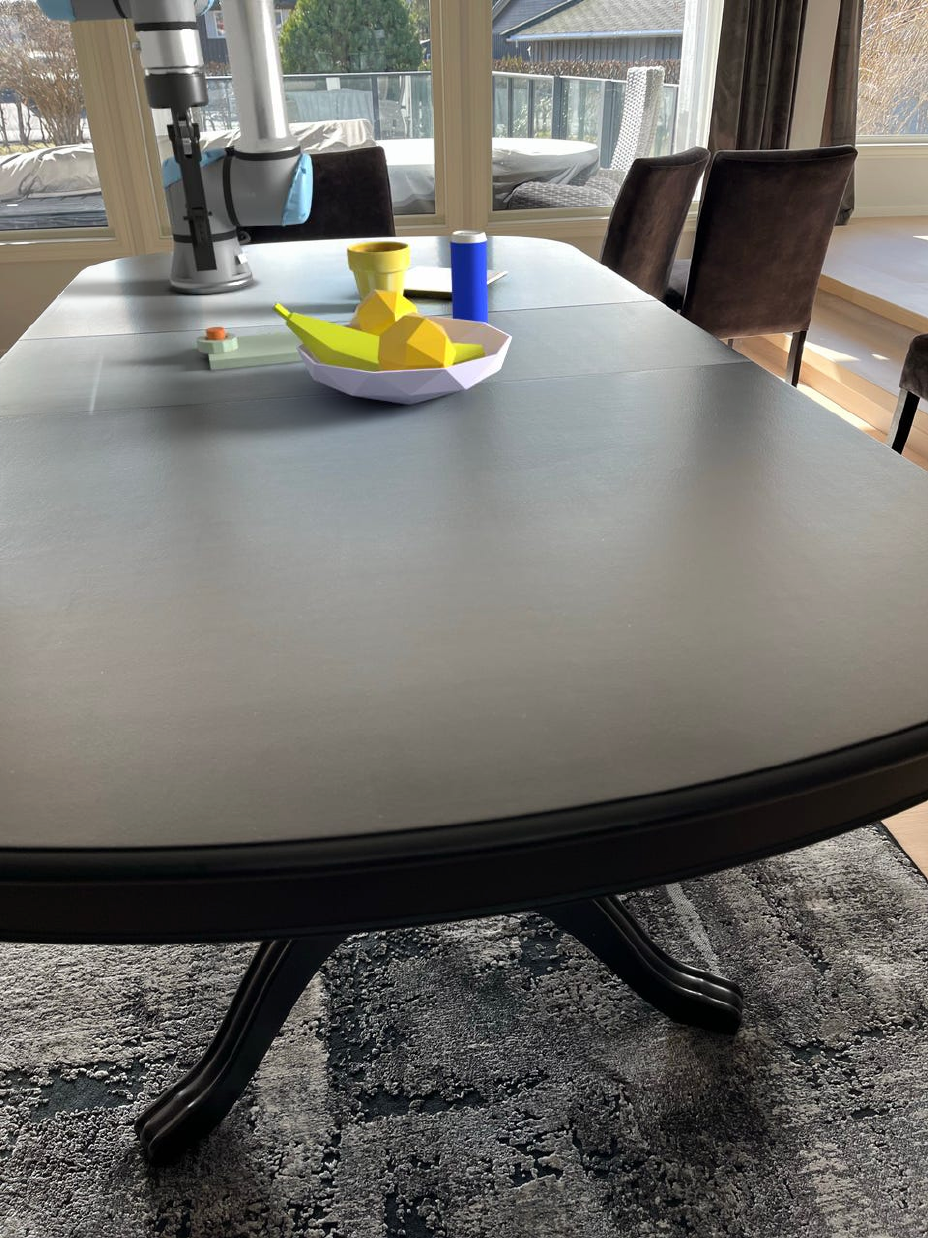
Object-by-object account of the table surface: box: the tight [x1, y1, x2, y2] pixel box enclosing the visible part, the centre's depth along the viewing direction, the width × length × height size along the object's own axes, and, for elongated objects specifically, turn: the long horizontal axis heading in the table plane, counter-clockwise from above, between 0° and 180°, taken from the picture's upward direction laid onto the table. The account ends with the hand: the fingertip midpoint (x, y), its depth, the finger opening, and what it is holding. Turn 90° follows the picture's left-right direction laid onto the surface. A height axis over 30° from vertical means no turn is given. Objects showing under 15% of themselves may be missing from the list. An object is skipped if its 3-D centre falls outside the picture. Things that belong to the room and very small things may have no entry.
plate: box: [403, 266, 509, 300], centre depth 171 cm, size 19×19×2 cm
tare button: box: [205, 326, 226, 340], centre depth 134 cm, size 3×3×2 cm
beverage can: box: [449, 229, 489, 324], centre depth 136 cm, size 5×5×15 cm
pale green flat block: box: [196, 330, 304, 371], centre depth 136 cm, size 12×17×3 cm
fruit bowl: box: [272, 289, 513, 406], centre depth 118 cm, size 28×27×11 cm
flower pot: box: [346, 240, 411, 302], centre depth 158 cm, size 10×10×10 cm
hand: (206, 269), depth 130 cm, fingers closed
